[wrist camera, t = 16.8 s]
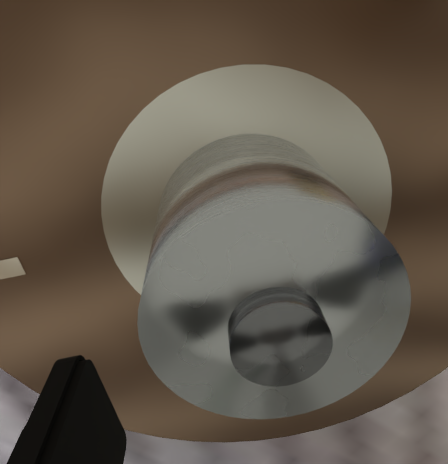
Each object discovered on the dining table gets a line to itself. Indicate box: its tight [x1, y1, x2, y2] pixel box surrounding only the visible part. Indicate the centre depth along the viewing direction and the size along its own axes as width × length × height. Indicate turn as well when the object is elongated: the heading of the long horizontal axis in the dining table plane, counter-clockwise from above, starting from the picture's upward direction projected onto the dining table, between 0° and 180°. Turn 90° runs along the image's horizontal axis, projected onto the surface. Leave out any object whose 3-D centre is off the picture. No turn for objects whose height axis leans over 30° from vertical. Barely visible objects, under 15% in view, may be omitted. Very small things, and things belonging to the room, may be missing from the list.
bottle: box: [137, 134, 411, 419], centre depth 12 cm, size 7×7×7 cm
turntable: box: [0, 0, 448, 442], centre depth 13 cm, size 26×26×8 cm
